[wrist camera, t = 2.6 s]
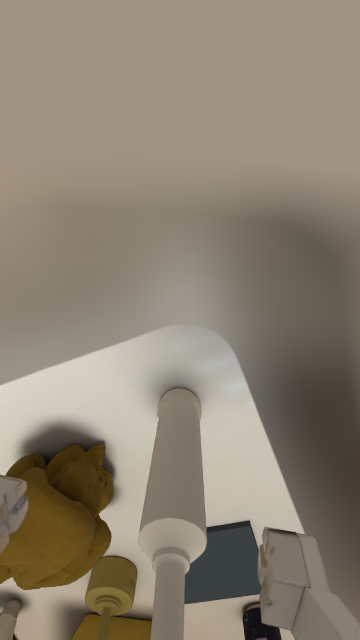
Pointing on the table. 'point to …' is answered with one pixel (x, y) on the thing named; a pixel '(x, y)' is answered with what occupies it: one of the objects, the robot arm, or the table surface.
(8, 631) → the lightbulb
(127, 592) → the sculpture
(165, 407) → the bottle
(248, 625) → the beverage can
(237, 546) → the slate mat
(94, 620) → the flower pot
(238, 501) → the table surface
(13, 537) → the gourd
